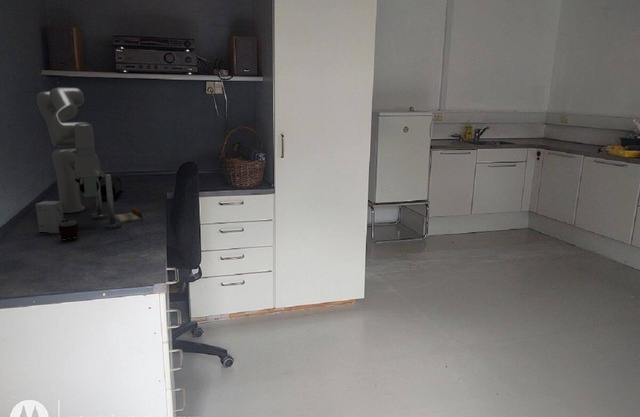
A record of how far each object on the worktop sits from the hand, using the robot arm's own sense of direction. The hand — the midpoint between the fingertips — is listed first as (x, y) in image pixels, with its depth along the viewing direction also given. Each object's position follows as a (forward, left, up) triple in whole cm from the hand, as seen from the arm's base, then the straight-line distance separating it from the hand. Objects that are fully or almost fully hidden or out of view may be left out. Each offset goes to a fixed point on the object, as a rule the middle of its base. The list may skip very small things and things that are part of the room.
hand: (89, 191), depth 218 cm
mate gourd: (-14, -18, -16) cm, 28 cm away
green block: (0, 0, -2) cm, 2 cm away
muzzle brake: (+24, +54, -16) cm, 61 cm away
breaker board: (+16, 0, -15) cm, 22 cm away
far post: (+6, +10, -15) cm, 19 cm away
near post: (+6, -10, -15) cm, 19 cm away
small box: (-17, -2, -16) cm, 23 cm away
